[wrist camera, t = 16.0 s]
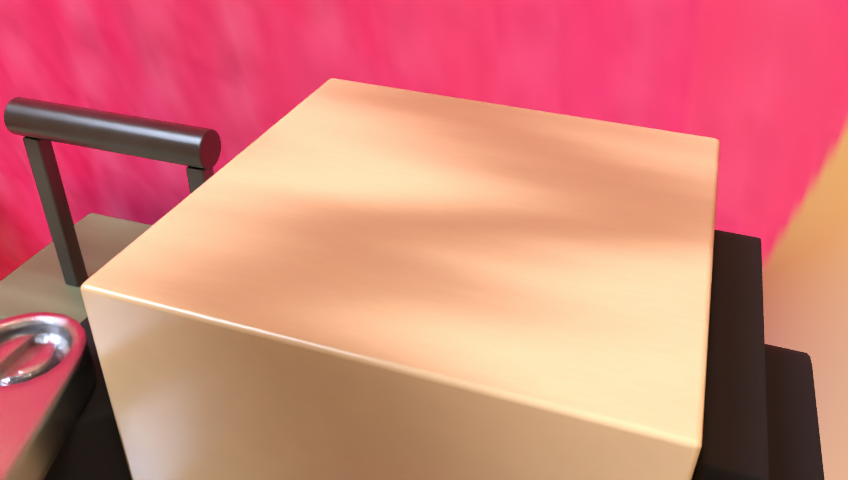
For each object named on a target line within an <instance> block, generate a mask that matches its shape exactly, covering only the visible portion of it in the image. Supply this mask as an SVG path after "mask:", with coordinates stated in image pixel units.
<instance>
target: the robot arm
mask: <svg viewBox="0 0 848 480" xmlns="http://www.w3.org/2000/svg"><path fill="white" fill-rule="evenodd" d="M762 288H763V287H762V256H761V239H760V238H756V237H751V236H746V235H740V234H735V233H730V232H724V231H719V230H715V231H714V248H713V265H712V282H711V300H710V317H709V334H708V351H707V368H706V385H705V403H704V420H703V437H702V447H701V450H700V453H699V457H698V460H697V463H696V466H695V469H694V472H693V476H692V479H691V480H824V472H823V464H822V454H821V444H820V436H819V426H818V417H817V408H816V399H815V389H814V379H813V370H812V363H811V359H810V356H809V355H808V354H807V353H804V352H799V351H795V350H790V349H785V348H781V347H776V346H772V345H767V344H764V318H763V317H764V316H763V289H762ZM0 480H132V479H131V475H130V471H129V468H128V464H127V460H126V456H125V453H124V449H123V445H122V442H121V438H120V434H119V431H118V427H117V423H116V420H115V416H114V412H113V409H112V405H111V401H110V397H109V394H108V390H107V386H106V383H105V379H104V375H103V372H102V368H101V364H100V361H99V357H98V353H97V350H96V346H95V342H94V338H93V335H92V331H91V327H90V324H89V320H88V317H86V318H85V319H84V320H83V321H82V322H81V323H80V324H79V323H78V321H76V320H74V319H72V318H70V317H68V316H66V315H63V314H57V313H50V312H38V313H26V314H22V315H17V316H13V317H8V318H6V319H3V320H0Z"/></svg>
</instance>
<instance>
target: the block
mask: <svg viewBox="0 0 848 480" xmlns="http://www.w3.org/2000/svg"><path fill="white" fill-rule="evenodd" d="M719 145H720V144H719V140H718V139H715V138H709V137H703V136H696V135H690V134H684V133H677V132H671V131H665V130H658V129H652V128H646V127H639V126H633V125H627V124H620V123H614V122H607V121H601V120H595V119H588V118H582V117H576V116H569V115H563V114H557V113H550V112H544V111H538V110H531V109H525V108H518V107H512V106H506V105H499V104H493V103H487V102H480V101H474V100H468V99H461V98H455V97H449V96H442V95H436V94H429V93H423V92H417V91H410V90H404V89H398V88H391V87H385V86H379V85H372V84H366V83H360V82H353V81H347V80H340V79H334V78H331V79H329V80H328V81H326V82H325V83H324V84H323V85H322V86H320V87H319V88H318V89H317V90H316V91H314V92H313V93H312V94H311V95H310V96H308V97H307V98H306V99H305V100H304V101H302V102H301V103H300V104H299V105H297V106H296V107H295V108H294V109H293V110H291V111H290V112H289V113H288V114H287V115H285V116H284V117H283V118H282V119H281V120H279V121H278V122H277V123H276V124H275V125H273V126H272V127H271V128H270V129H268V130H267V131H266V132H265V133H264V134H262V135H261V136H260V137H259V138H258V139H256V140H255V141H254V142H253V143H252V144H250V145H249V146H248V147H247V148H246V149H244V150H243V151H242V152H241V153H239V154H238V155H237V156H236V157H235V158H233V159H232V160H231V161H230V162H229V163H227V164H226V165H225V166H224V167H223V168H221V169H220V170H219V171H218V172H217V173H215V174H214V175H213V176H212V177H210V178H209V179H208V180H207V181H206V182H204V183H203V184H202V185H201V186H200V187H198V188H197V189H196V190H195V191H194V192H192V193H191V194H190V195H189V196H188V197H186V198H185V199H184V200H183V201H181V202H180V203H179V204H178V205H177V206H175V207H174V208H173V209H172V210H171V211H169V212H168V213H167V214H166V215H165V216H163V217H162V218H161V219H160V220H159V221H157V222H156V223H155V224H154V225H152V226H151V227H150V228H149V229H148V230H146V231H145V232H144V233H143V234H142V235H140V236H139V237H138V238H137V239H136V240H134V241H133V242H132V243H131V244H130V245H128V246H127V247H126V248H125V249H123V250H122V251H121V252H120V253H119V254H117V255H116V256H115V257H114V258H113V259H111V260H110V261H109V262H108V263H107V264H105V265H104V266H103V267H102V268H101V269H99V270H98V271H97V272H96V273H94V274H93V275H92V276H91V277H90V278H88V279H87V280H86V281H85V282H84V283H83V284H82V285H81V289H80V290H81V294H82V298H83V302H84V305H85V309H86V313H87V316H88V320H89V324H90V327H91V331H92V335H93V338H94V342H95V346H96V350H97V353H98V357H99V361H100V364H101V368H102V372H103V375H104V379H105V383H106V386H107V390H108V394H109V397H110V401H111V405H112V409H113V412H114V416H115V420H116V423H117V427H118V431H119V434H120V438H121V442H122V445H123V449H124V453H125V456H126V460H127V464H128V468H129V471H130V475H131V479H132V480H691V479H692V476H693V472H694V469H695V466H696V463H697V460H698V457H699V453H700V450H701V447H702V437H703V420H704V403H705V385H706V368H707V351H708V334H709V317H710V300H711V282H712V265H713V248H714V231H715V214H716V197H717V180H718V162H719Z"/></svg>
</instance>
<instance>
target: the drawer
mask: <svg viewBox="0 0 848 480" xmlns="http://www.w3.org/2000/svg"><path fill="white" fill-rule="evenodd" d="M4 122H5V125H6V127H7V129H8V130H9V131H10V132H12V133H13V134H16V135H22V136H25V137H24V138H23V141H24V145H25V148H26V151H27V155H28V158H29V161H30V165H31V168H32V172H33V175H34V178H35V182H36V185H37V189H38V192H39V195H40V199H41V202H42V206H43V209H44V212H45V216H46V219H47V223H48V226H49V229H50V233H51V236H52V240H53V241H52V242H51V243H50V244H48V245H47V246H46V247H45V248H43V249H42V250H41V251H39V252H38V253H37V254H35V255H34V256H33V257H31V258H30V259H29V260H27V261H26V262H25V263H23V264H22V265H21V266H20V267H18V268H17V269H16V270H14V271H13V272H12V273H10V274H9V275H8V276H6V277H5V278H4V279H2V280H1V281H0V320H3V319H6V318H8V317H13V316H17V315H22V314H26V313H38V312H50V313H57V314H63V315H66V316H68V317H70V318H72V319H74V320H76V321H78V323H79V324H80V323H81V322H82V321H83V320H84V319H85V318H86V317H88V316H87V313H86V309H85V305H84V302H83V298H82V294H81V290H80V289H81V285H82V284H83V283H84V282H85V281H86V280H87V279H88V278H90V277H91V276H92V275H93V274H94V273H96V272H97V271H98V270H99V269H101V268H102V267H103V266H104V265H105V264H107V263H108V262H109V261H110V260H111V259H113V258H114V257H115V256H116V255H117V254H119V253H120V252H121V251H122V250H123V249H125V248H126V247H127V246H128V245H130V244H131V243H132V242H133V241H134V240H136V239H137V238H138V237H139V236H140V235H142V234H143V233H144V232H145V231H146V230H148V229H149V228H150V227H151V226H152V225H149V224H144V223H139V222H135V221H130V220H125V219H120V218H115V217H110V216H105V215H101V214H96V213H89V214H88V215H87V216H85V217H84V218H83V219H81V220H80V221H79V222H77V223H76V224H75V225H74V223H73V220H72V216H71V212H70V209H69V205H68V201H67V198H66V194H65V190H64V187H63V183H62V180H61V176H60V172H59V169H58V165H57V161H56V158H55V154H54V150H53V147H52V143H51V141H55V142H60V143H66V144H71V145H77V146H82V147H88V148H93V149H99V150H104V151H110V152H115V153H121V154H126V155H132V156H137V157H142V158H148V159H153V160H159V161H164V162H170V163H175V164H181V165H186V166H188V167H187V169H186V170H187V176H188V182H189V188H190V194H191V193H192V192H194V191H195V190H196V189H197V188H198V187H200V186H201V185H202V184H203V183H204V182H206V181H207V180H208V179H209V178H210V177H212V176H213V175H214V173H213V166H214V165H215V164H216V163H217V161H218V158H219V156H220V151H221V141H220V137H219V134H218V133H217V132H216V131H215V130H213V129H208V128H202V127H196V126H190V125H184V124H178V123H172V122H166V121H160V120H154V119H148V118H142V117H136V116H130V115H124V114H118V113H112V112H106V111H100V110H94V109H88V108H82V107H76V106H70V105H64V104H58V103H52V102H46V101H40V100H34V99H28V98H22V97H17V98H14V99H12V100H11V101H10V102H9V103H8V104H7V106H6V108H5V111H4Z"/></svg>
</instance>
